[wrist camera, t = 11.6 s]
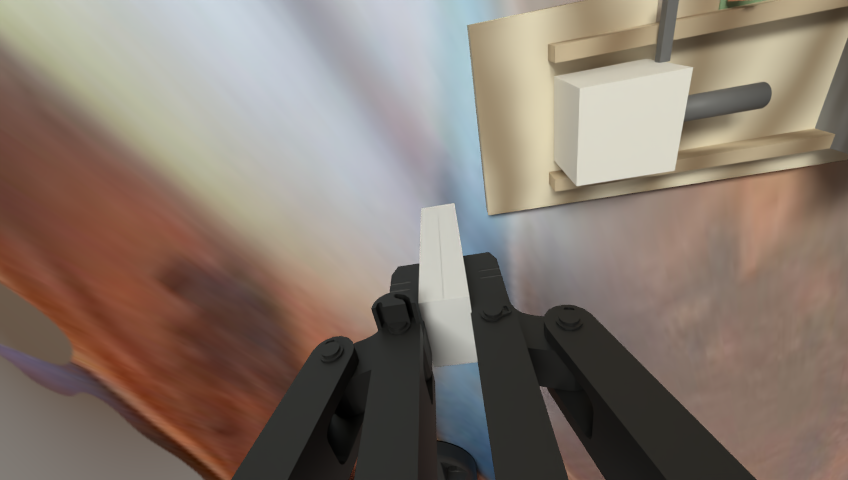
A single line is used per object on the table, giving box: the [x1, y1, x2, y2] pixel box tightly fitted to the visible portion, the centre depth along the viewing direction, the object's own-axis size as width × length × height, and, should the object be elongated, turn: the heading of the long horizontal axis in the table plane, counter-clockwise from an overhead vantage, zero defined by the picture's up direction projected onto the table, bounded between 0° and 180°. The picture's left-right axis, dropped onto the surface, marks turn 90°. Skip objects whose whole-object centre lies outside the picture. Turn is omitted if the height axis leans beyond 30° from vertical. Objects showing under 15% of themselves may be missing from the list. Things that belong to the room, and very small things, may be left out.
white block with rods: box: [554, 0, 772, 186], centre depth 23 cm, size 12×10×5 cm
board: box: [467, 0, 848, 215], centre depth 23 cm, size 28×14×9 cm, turn 100°
